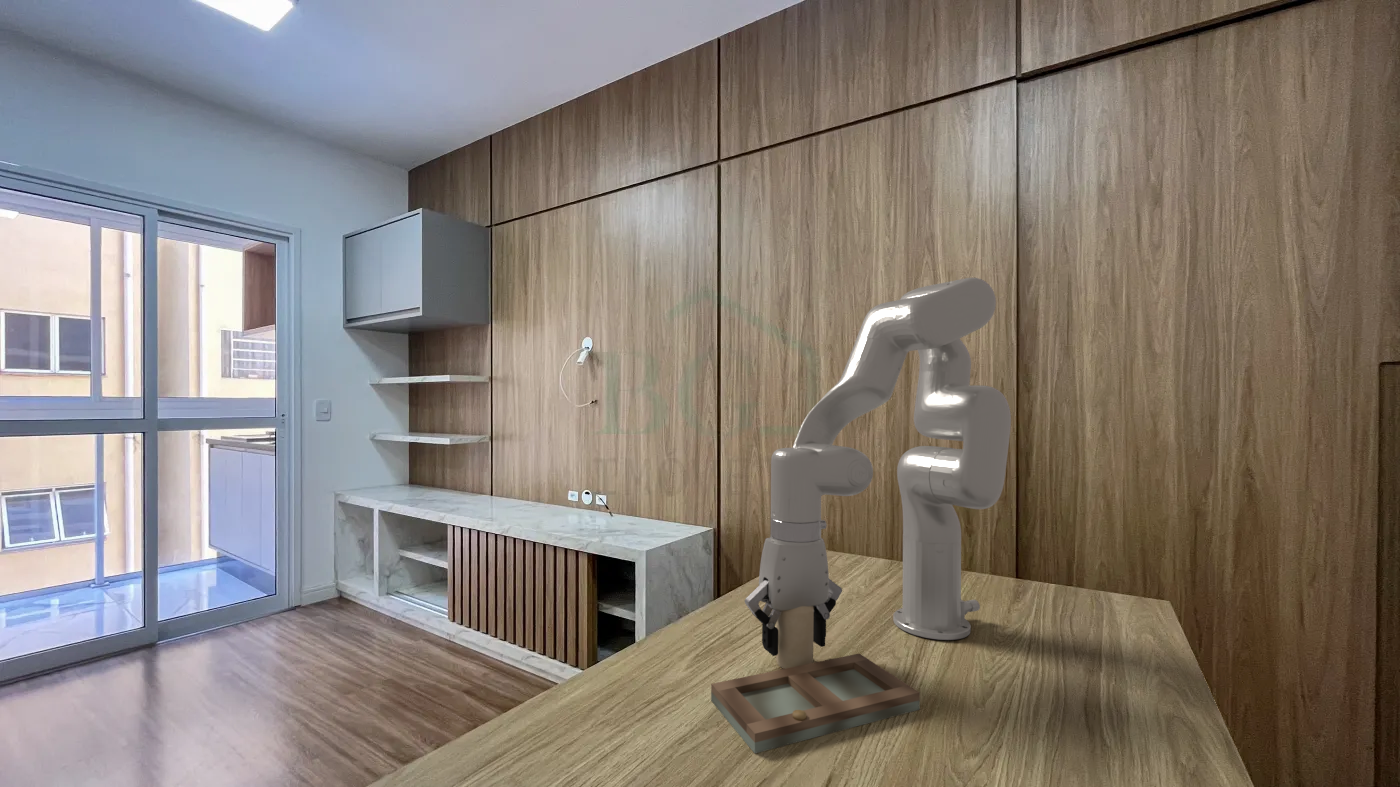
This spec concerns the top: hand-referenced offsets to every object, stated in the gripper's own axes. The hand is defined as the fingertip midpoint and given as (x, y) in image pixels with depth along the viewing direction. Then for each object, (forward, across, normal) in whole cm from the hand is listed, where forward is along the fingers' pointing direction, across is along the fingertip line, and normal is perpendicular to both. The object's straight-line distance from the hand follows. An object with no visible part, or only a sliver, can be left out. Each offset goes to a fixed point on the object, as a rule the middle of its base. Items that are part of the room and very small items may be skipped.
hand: (794, 646), depth 85 cm
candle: (+3, 0, 0) cm, 3 cm away
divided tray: (+2, +4, +11) cm, 12 cm away
